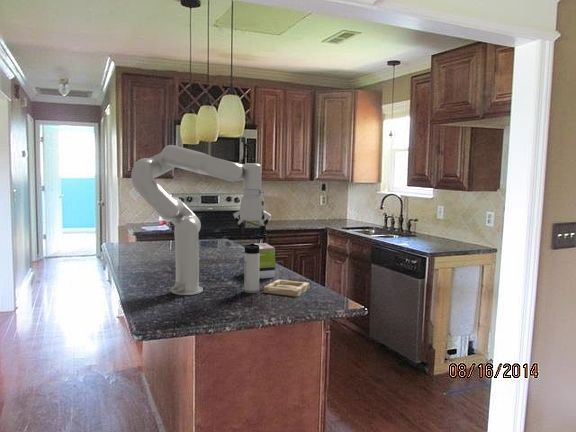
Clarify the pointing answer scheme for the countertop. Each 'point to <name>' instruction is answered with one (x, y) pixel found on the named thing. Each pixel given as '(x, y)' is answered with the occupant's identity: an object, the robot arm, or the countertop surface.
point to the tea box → (266, 261)
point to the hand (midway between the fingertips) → (252, 234)
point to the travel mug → (251, 268)
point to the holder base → (287, 287)
